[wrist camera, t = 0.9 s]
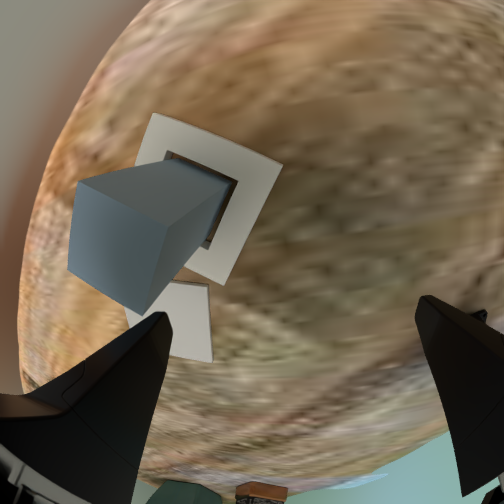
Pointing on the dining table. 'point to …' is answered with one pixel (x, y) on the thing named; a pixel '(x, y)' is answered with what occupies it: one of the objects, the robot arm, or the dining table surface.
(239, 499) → the whiskey bottle
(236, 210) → the pocket holder
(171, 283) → the grey mat
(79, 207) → the slate-blue block
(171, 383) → the dining table surface
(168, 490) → the flower pot
